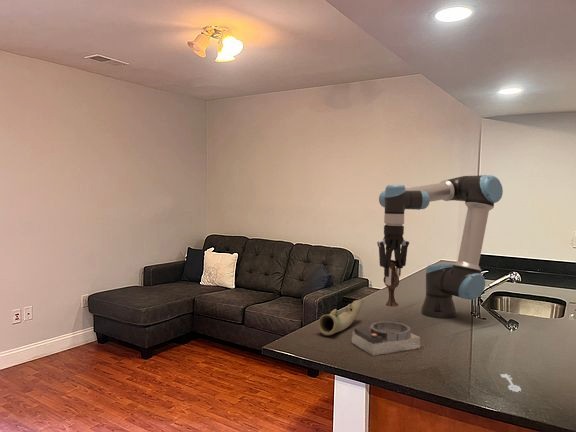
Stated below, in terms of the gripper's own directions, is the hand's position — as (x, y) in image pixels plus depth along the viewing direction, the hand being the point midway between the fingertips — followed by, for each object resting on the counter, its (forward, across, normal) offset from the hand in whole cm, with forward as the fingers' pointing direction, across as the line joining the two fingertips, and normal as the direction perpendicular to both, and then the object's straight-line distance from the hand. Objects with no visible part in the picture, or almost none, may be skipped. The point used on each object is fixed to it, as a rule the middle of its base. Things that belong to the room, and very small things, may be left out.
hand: (392, 284), depth 172 cm
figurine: (+8, 0, -1) cm, 8 cm away
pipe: (+21, +14, -15) cm, 29 cm away
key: (+21, -9, +49) cm, 54 cm away
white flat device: (+20, +8, +9) cm, 24 cm away
